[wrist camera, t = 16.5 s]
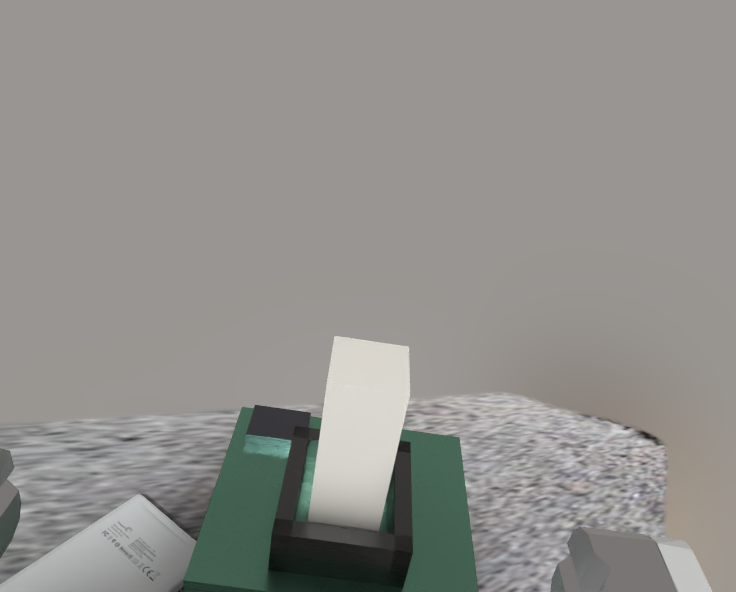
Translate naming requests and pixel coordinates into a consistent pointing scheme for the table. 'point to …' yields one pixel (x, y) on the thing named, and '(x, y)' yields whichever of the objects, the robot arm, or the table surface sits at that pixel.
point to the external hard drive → (114, 556)
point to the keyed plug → (359, 433)
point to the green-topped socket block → (324, 542)
